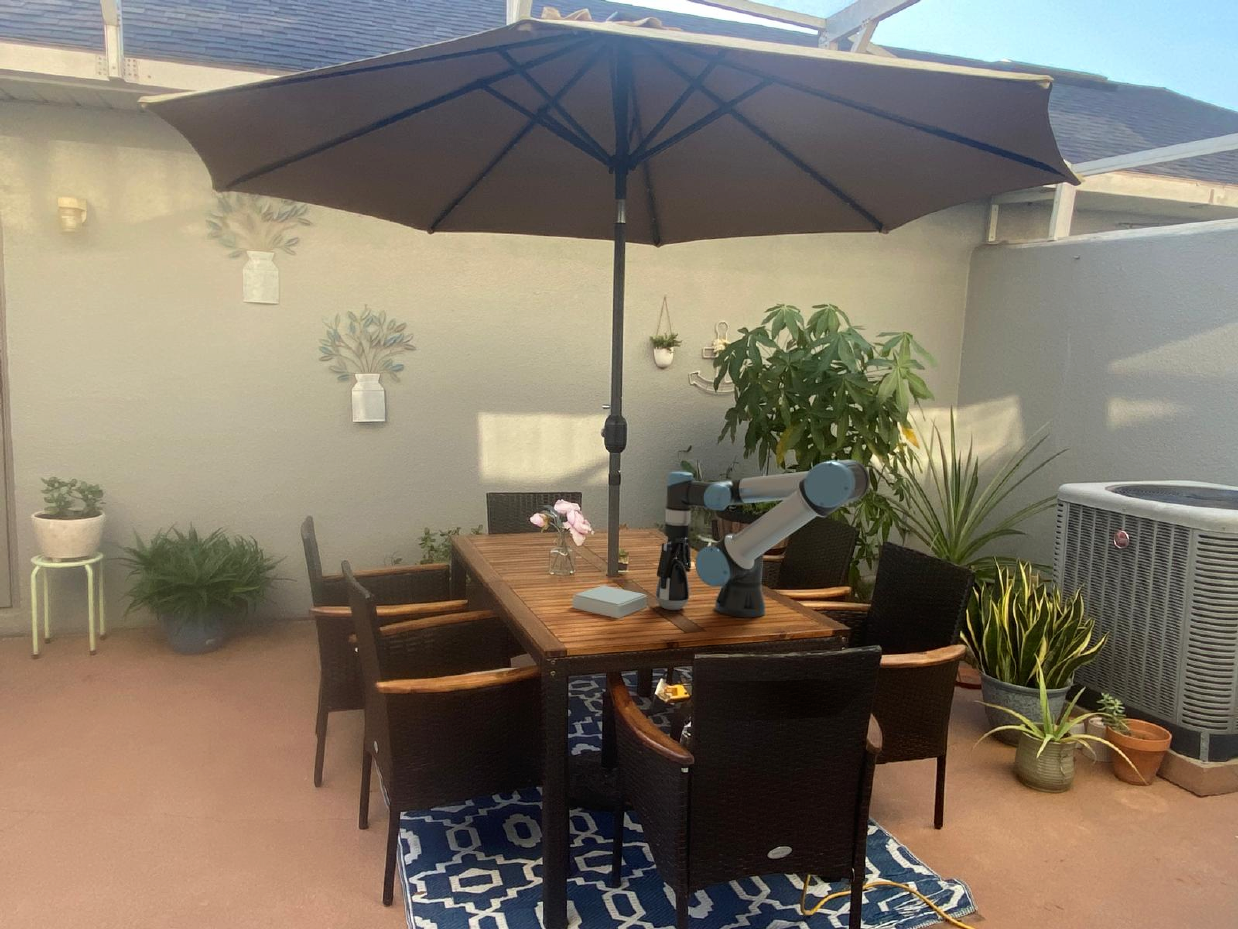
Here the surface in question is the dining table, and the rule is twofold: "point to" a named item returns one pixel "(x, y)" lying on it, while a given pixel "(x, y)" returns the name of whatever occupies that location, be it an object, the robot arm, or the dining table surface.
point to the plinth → (610, 601)
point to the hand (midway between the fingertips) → (672, 595)
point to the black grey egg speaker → (675, 588)
